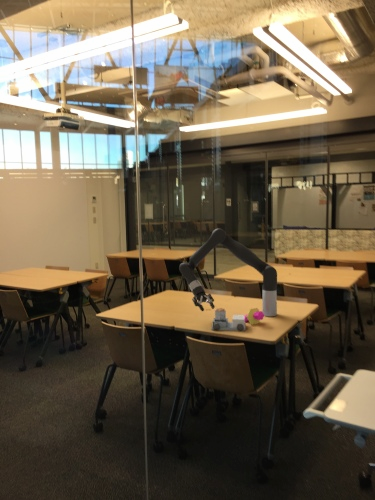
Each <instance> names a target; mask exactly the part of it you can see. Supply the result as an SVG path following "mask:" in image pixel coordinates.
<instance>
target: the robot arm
mask: <svg viewBox="0 0 375 500" xmlns="http://www.w3.org/2000/svg"><path fill="white" fill-rule="evenodd" d="M219 244H220V245H222V246H223V247H225V249H227V250H228V251H230V252H229V253H231V254H232V255H233V256H235V258H237V259H239V260H240V261H241V262H242V263H244V264H246V265H247V266H250V267H251V268H253V269H255V270H256V271H257V272H258V273H259V274H260V275H261V276H262V288H261V289H262V292H261V293H262V297H261V299H262V310H261V311H262V312H263V314H264V317H277V316H278V312H277V311H278V305H277V303H278V302H277V286H278V271H277V269H276V268H275V267H274V266H272V265H270V264H269V263H267V262H265V261H264V260H262V259H261V258H259V257H258V255H256V253H254V252H253V251H252V250H251V249H250V248H249V247H246V246H245V245H244V244H242V243H241V242H239V241H237V240H235V239H233V238H232V237H231V236H229V234H227V233H226V231H225V230H224V229H222V228H215V229H214V230H212V233H211V235H210V237H209V238H208V239H207V240H206V242H204V243H203V245H201V246H200V247H199V248H198V249H197V250H195V251H194V252H193V254H191V255H190V256H189V261H188V262H181V263H180V264H179V267H178V269H179V272H180V274H181V275H182V277H183V278H184V279H185V281H186V283H187V285H188V287H189V289H190V290H191V293H192V295H193V297H192V298H191V300H192V302H193V304H194V306H195V307H198V308H199V310H200V311H201V312H204V311H205V308H204V306H203V305H202V303H206V304H209V306H210V307H211V309H212V310H213V309H216V308H215V307H216V306H215V304H214V301H215V299H214V298H213V296H212V294H211V293H208V294H206V290H205V289H204V287H203V285H202V283H201V282H200V281H199V279H198V277H197V276H196V274H195V273H194V271H195V269H196V268H197V266H198V265H199V263H201V262H202V261H203V260H204V259H205V258H206V257H207V255H208V254H209V253H210V252H211V251H212V250H213V249H214V248H216V247H217V246H218V245H219Z"/></svg>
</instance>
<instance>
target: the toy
mask: <svg viewBox="0 0 375 500" xmlns="http://www.w3.org/2000/svg"><path fill="white" fill-rule="evenodd" d="M262 311H263V310H261V311H260V310H259V308H258V307H256V308H250V309H249V310H248V312H247V313H246V314H244V315H245V323H247V322H249V324H250V325H257V324H259V323H260V321H261V320H263V319H264V318H265V316H264V314H263V312H262Z"/></svg>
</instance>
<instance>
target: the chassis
mask: <svg viewBox="0 0 375 500" xmlns="http://www.w3.org/2000/svg"><path fill="white" fill-rule="evenodd" d="M245 315H246V314H233V315H232V321H231V322H229V317H228V318H227V317H226V322H215V317H213V319H212V325H211V331H216V332H217V331H232V332H233V331H238V332H243V331H244V332H245V331H246V322H245Z"/></svg>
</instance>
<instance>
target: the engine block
mask: <svg viewBox="0 0 375 500" xmlns="http://www.w3.org/2000/svg"><path fill="white" fill-rule="evenodd" d="M226 312H227V311H226V310H225V308H222V307H219V308H217V307H216V308H215V310H214V314H215V315H214V318H215V322H226V318H227V314H226Z"/></svg>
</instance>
